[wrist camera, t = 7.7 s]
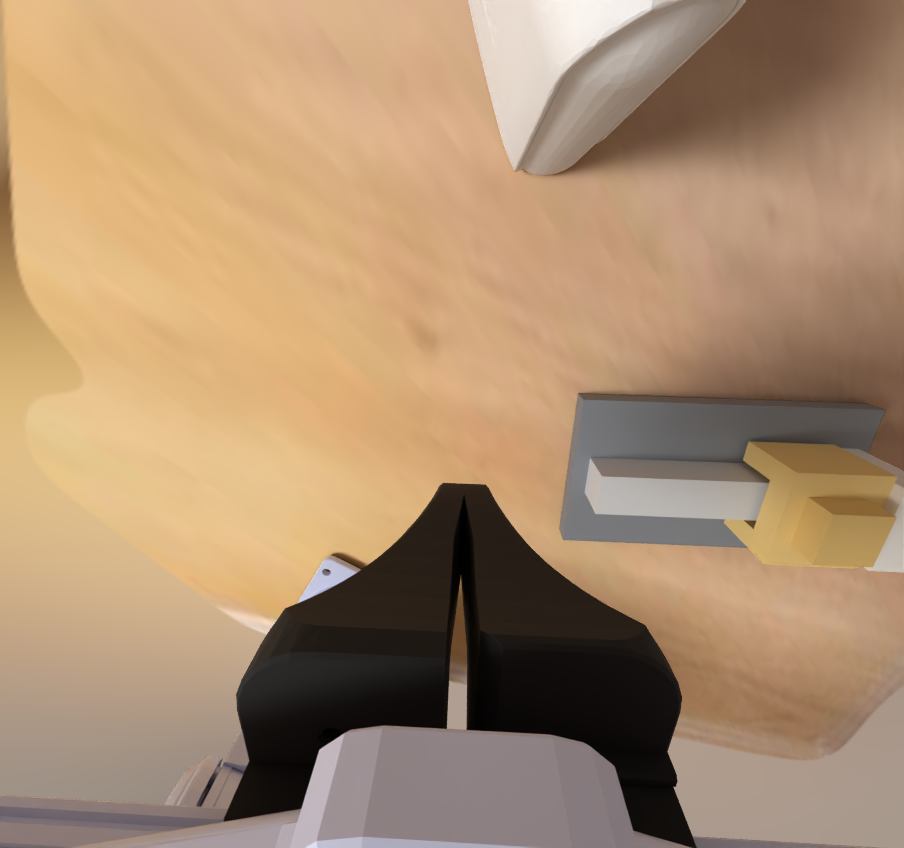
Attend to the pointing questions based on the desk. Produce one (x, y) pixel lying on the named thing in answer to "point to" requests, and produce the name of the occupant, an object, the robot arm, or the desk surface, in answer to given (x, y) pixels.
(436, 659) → the robot arm
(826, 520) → the slider
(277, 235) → the desk surface
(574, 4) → the photo printer
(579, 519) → the rail board
